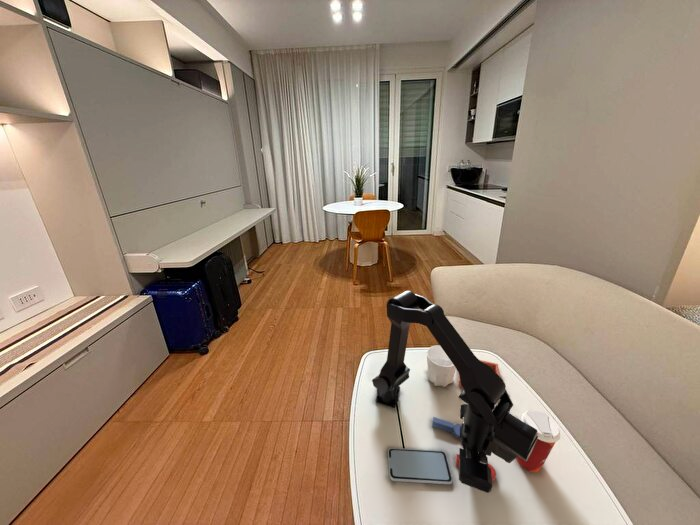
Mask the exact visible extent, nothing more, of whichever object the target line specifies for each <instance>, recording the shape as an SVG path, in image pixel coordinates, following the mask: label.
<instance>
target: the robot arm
mask: <svg viewBox="0 0 700 525" xmlns="http://www.w3.org/2000/svg"><path fill="white" fill-rule="evenodd" d="M386 317H387V319H388V320H389V322H390V331H389V339H388V348H387V357H386V361H385V363H384V364H383V366H382V367H381V369H380V371H379V374H377V375H376V376H375V377H374V378H372V380H371V382H372V384H373V387H374V388H376V397H375V400H374V401H375V403H376V404H380V405H383V406H386V407H390V408H392V409H395V408H397V403H399V400H400V397H401V386H402V384H404V383H405V382H406V381H407V380H409V378H410V375H409V374H410V371H411V369H410V368H409V367H408V366H407V364H406V363H405V358H406V350H407V345H408V338H409V333H410V332H409V331H410V326H411V324H419V325H423V326H424V327H426V328H427V330H428V331H429V332H430V333H431V335H432V337H433V338H434V339H435V341H436V342H437V344H438V345H440V346H441V348H442V349H443V350H444V352H445V353H446V355H447V356H448V357H449V359H450V360H451V362H452V363H453V364H454V366H455V367H456V371H457V372H458V377H459V376H460V382H461V386H462V387H463V388H462V387H461V388H462V391H461V393H460V394H459V395H458V398H459V399H460V400H461V401H463V402H465V403H463V404H460V406H459V407H460V408H459V419H460V420H463V422H462V423H461V425H462V426H461V427H460V439H459V440H460V443H461V446H462V447H459V450H458V451H459V453H458V455H459V459H460V461H459V467H458V480H459V482H460V483H461V484H463V485H465V486H468V487H471V488H473V489H477V490H478V491H481V492H484V493H487V494H489V493H490V492H492V490H493V489H492V488H493V482H492V475H491V469H490V467H489V466H488V464H489V460H488V458H489V457H491V456H492V454H493V455H495V457H496V456H497V458H500V459H502V460H504V462H505V463H507V464H510V463H512V462H513V461H514V460H517V459H516V458H517V457H518V456H519V457H521V458H522V459H523V460H525V461H527V460H528V458H529V456H530V455H531V452H532V450H533V448H534V446H535V444H536V441H537V439H538V436H537V434H538V433H537V430H536V429H535V428H533V427H532V426H530V425H528V424H526V423H524V422H522V421H521V419H520V418H518V417H516V415H513V414H512V413H511V409H512V408H514V403H513V401H512V398H511V397H510V395H509V393H508V391H507V389H506V387H507V386H506V383H505V381H504V380H503V379H502V378H501V375H500V376H499V375H498V374H497V373H496V372H495V371H494V370H493V369H492V368H491V367H490V366H489V365H487V364H485V363H483V362H481V361H480V360H481V359H479V358H478V357H477V356H476V355H475V354H474V352H473V351H472V349H471V348H470V347H469V346H468V344H467V343H466V341H465V340H464V339H463V337H462V336H461V335H460V333H459V332H458V331H457V329H456V328H455V327H454V325H453V324H452V323H451V321H450V320H449V318H448V317H447V316H446V315H445V311H444V309H443V308H442V306H441V305H439V304H436V303H434V302H431V300H429V299H428V298H427V297H426V296H423V295H420V294H417V293H414V292H413V291H411V290H405V291H403V292H401V293H399V294H397V295H395V296H393V297H391V298H389V299H388V300H387V301H386ZM488 456H489V457H488Z"/></svg>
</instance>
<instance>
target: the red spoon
mask: <svg viewBox="0 0 700 525" xmlns="http://www.w3.org/2000/svg"><path fill="white" fill-rule="evenodd" d="M459 461H460V459H459V453H457V454H456V456H455V466H456V467H458V468H459ZM488 466H489V467H490V469H491V475H492V483H493V482H495V480H496V477H497V472H496V469H495V468H494V466H493V465H492V464H490V463H488Z"/></svg>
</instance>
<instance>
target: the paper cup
mask: <svg viewBox="0 0 700 525" xmlns="http://www.w3.org/2000/svg"><path fill="white" fill-rule="evenodd" d="M520 420H521V421H522V422H524V423H526V424H528V425H530V426H532V427H533V428H535V429H536V430H537V433H538V434H537V436H538V439H537V441H536V444H535V446H534V448H533V450H532V452H531V455H530V456H529V458H528V460H527V461H525V460H523V459H522V458H521V457H519V456H518V457H517V458H516V459H515V460H516V461H517V463H518V464H519V465H520V466H521V467H522V468H523V469H525V470H526V471H528V472H531V473H538V472H539V471H541V470H542V468H543V466H544V465H545V463H546V461H547V459H548V457H549V456H550V454H551V452H552V450H553V448H554V446H555V444H556V443H557V442H558V441H559V440H561V431H560V427H559V425H558V423H557V421H555V419H554V418H553V417H551V416H550V415H549V414H547V413H545V412H543V411H541V410H537V409H530V410H527V411H525V412H523V413H522V415H521V417H520Z"/></svg>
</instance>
